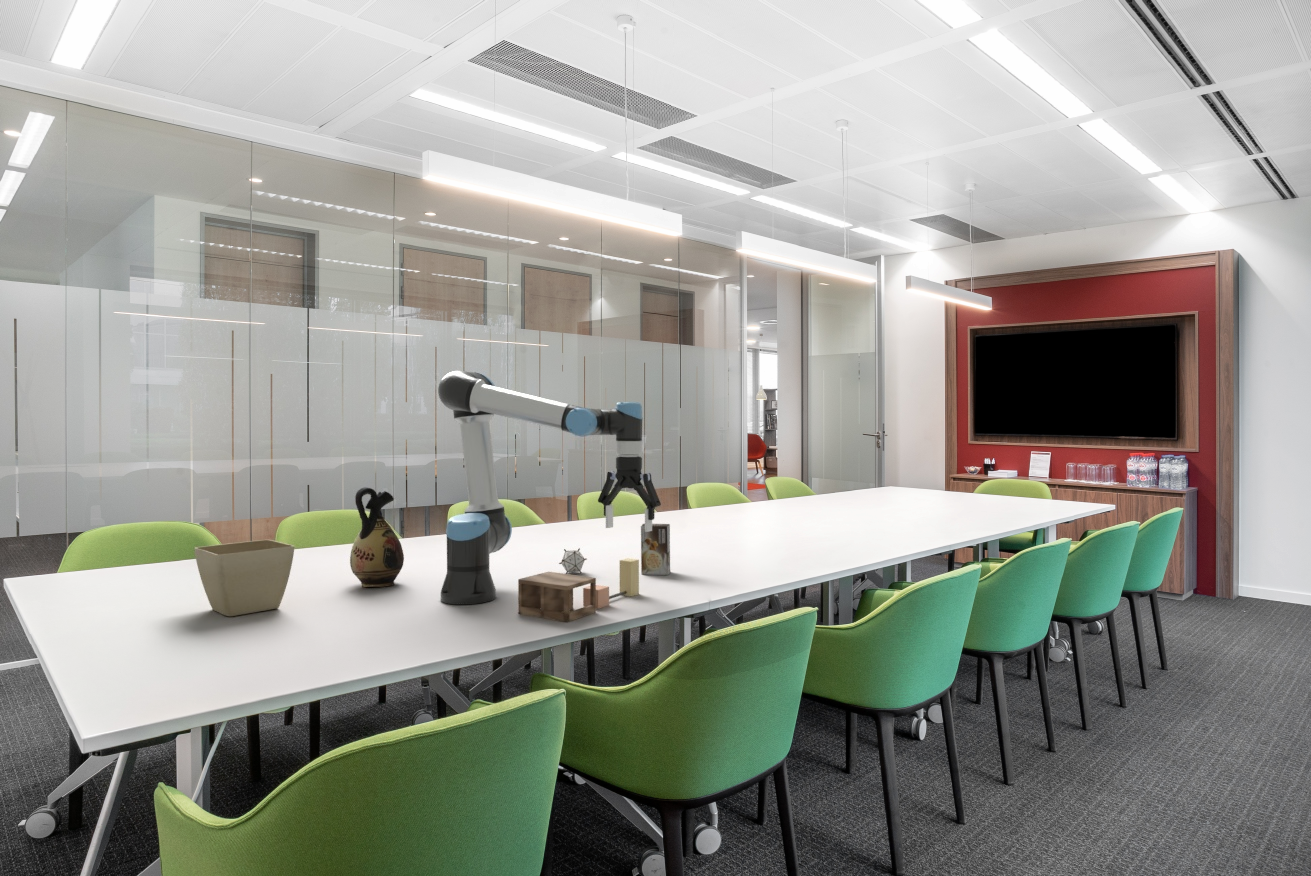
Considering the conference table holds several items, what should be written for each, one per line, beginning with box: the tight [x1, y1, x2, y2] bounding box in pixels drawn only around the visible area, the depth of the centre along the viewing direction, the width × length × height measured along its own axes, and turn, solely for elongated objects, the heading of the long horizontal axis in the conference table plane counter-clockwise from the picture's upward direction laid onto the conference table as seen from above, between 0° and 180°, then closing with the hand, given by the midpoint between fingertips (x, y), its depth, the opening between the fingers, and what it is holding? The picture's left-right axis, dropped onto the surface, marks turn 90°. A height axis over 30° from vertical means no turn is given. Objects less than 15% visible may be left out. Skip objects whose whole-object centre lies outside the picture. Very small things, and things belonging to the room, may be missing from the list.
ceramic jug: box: [349, 486, 405, 588], centre depth 234 cm, size 17×15×30 cm
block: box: [582, 558, 640, 610], centre depth 215 cm, size 20×5×10 cm, turn 148°
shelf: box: [517, 571, 597, 623], centre depth 200 cm, size 12×16×9 cm
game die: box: [558, 547, 588, 574], centre depth 253 cm, size 9×8×10 cm
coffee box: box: [640, 523, 671, 576], centre depth 253 cm, size 9×6×16 cm
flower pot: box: [193, 539, 296, 617], centre depth 204 cm, size 19×19×17 cm
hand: (628, 529), depth 222 cm, fingers open, 13 cm apart
